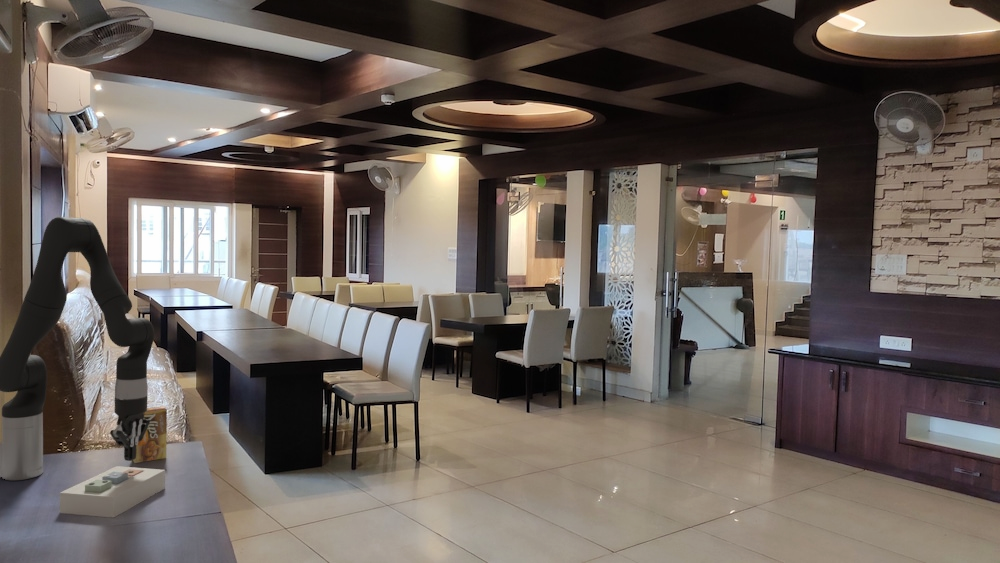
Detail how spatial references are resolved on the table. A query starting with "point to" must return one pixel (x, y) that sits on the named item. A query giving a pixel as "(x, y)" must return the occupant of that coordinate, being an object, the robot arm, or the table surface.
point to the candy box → (153, 436)
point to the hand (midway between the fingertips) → (130, 459)
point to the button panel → (112, 493)
